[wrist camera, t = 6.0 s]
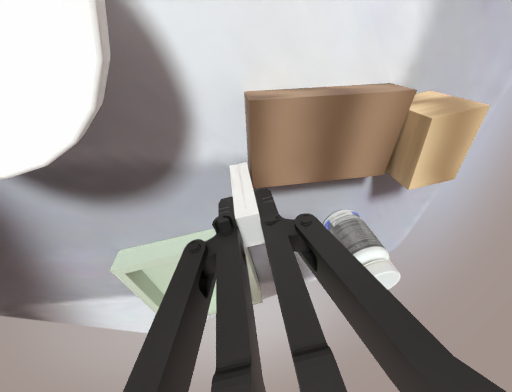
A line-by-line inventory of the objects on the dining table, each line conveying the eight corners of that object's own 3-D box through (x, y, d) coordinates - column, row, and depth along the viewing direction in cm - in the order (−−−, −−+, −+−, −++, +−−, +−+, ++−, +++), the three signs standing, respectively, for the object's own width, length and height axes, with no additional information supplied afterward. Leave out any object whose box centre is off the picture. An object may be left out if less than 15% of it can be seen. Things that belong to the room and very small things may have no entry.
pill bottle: (316, 220, 26) (350, 283, 19) (353, 202, 25) (403, 262, 18) (327, 240, 28) (361, 302, 22) (361, 225, 27) (407, 285, 21)
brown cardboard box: (248, 171, 20) (252, 188, 18) (244, 91, 16) (248, 100, 14) (365, 159, 21) (383, 175, 19) (389, 83, 17) (417, 89, 15)
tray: (171, 306, 32) (167, 324, 30) (119, 250, 24) (109, 270, 22) (259, 285, 32) (262, 302, 30) (239, 222, 24) (241, 239, 22)
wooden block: (373, 162, 22) (408, 189, 18) (385, 101, 18) (432, 118, 14) (410, 153, 22) (454, 179, 18) (430, 90, 18) (490, 105, 14)
